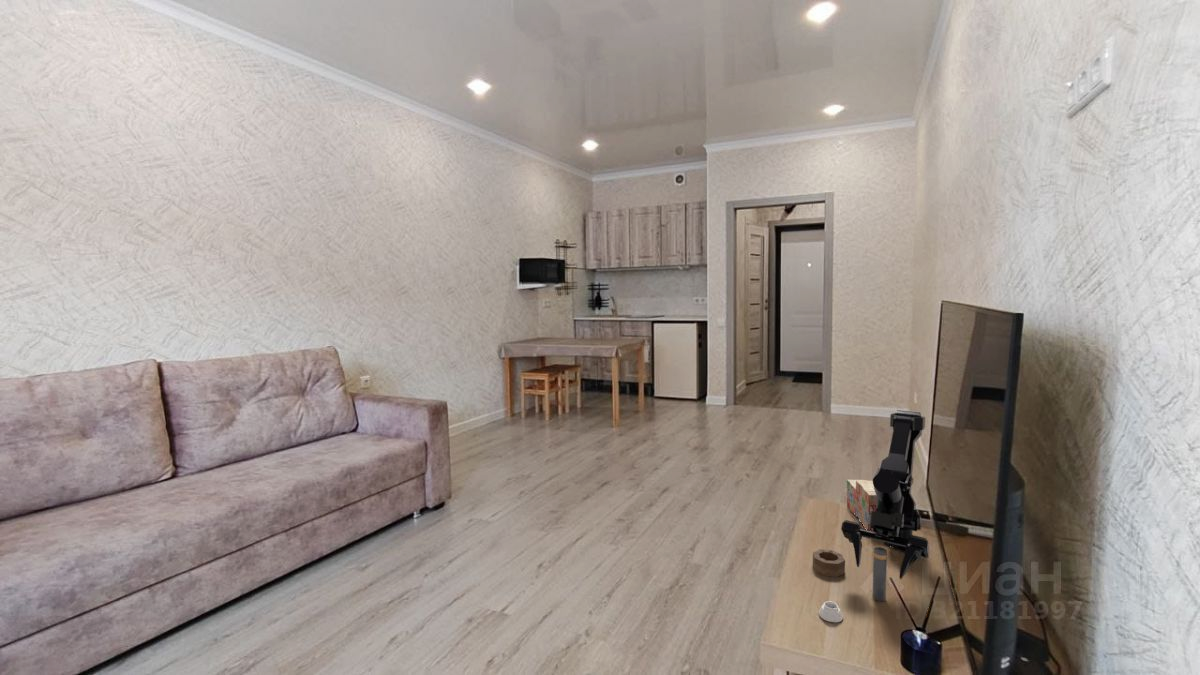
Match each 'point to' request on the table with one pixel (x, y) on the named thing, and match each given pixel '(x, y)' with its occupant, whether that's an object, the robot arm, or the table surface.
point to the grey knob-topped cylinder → (879, 573)
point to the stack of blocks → (861, 500)
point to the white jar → (830, 612)
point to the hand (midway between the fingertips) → (878, 572)
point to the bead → (828, 562)
